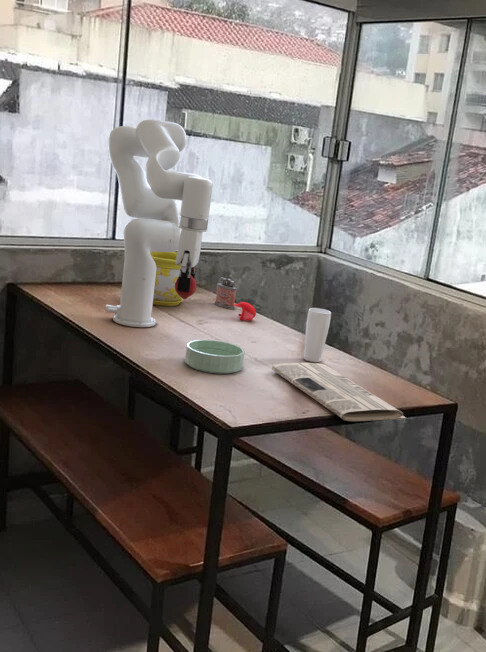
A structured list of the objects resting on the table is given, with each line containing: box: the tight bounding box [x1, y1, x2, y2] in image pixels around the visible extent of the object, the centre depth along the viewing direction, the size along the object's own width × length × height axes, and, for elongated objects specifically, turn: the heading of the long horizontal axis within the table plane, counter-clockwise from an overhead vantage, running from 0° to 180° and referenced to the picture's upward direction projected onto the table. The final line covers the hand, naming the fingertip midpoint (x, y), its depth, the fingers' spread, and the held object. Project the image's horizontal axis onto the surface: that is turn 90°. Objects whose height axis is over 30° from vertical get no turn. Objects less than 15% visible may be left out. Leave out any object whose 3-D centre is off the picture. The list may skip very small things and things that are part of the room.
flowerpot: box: [150, 251, 183, 307], centre depth 278 cm, size 18×18×16 cm
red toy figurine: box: [234, 301, 257, 322], centre depth 273 cm, size 8×6×6 cm
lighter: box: [214, 276, 238, 310], centre depth 288 cm, size 8×3×10 cm, turn 58°
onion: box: [175, 275, 197, 300], centre depth 221 cm, size 6×6×8 cm
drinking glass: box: [303, 307, 332, 363], centre depth 236 cm, size 7×7×15 cm
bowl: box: [184, 339, 246, 375], centre depth 215 cm, size 15×15×5 cm
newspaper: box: [271, 362, 407, 422], centre depth 208 cm, size 37×19×3 cm, turn 31°
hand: (185, 288), depth 222 cm, fingers closed on onion, 6 cm apart
